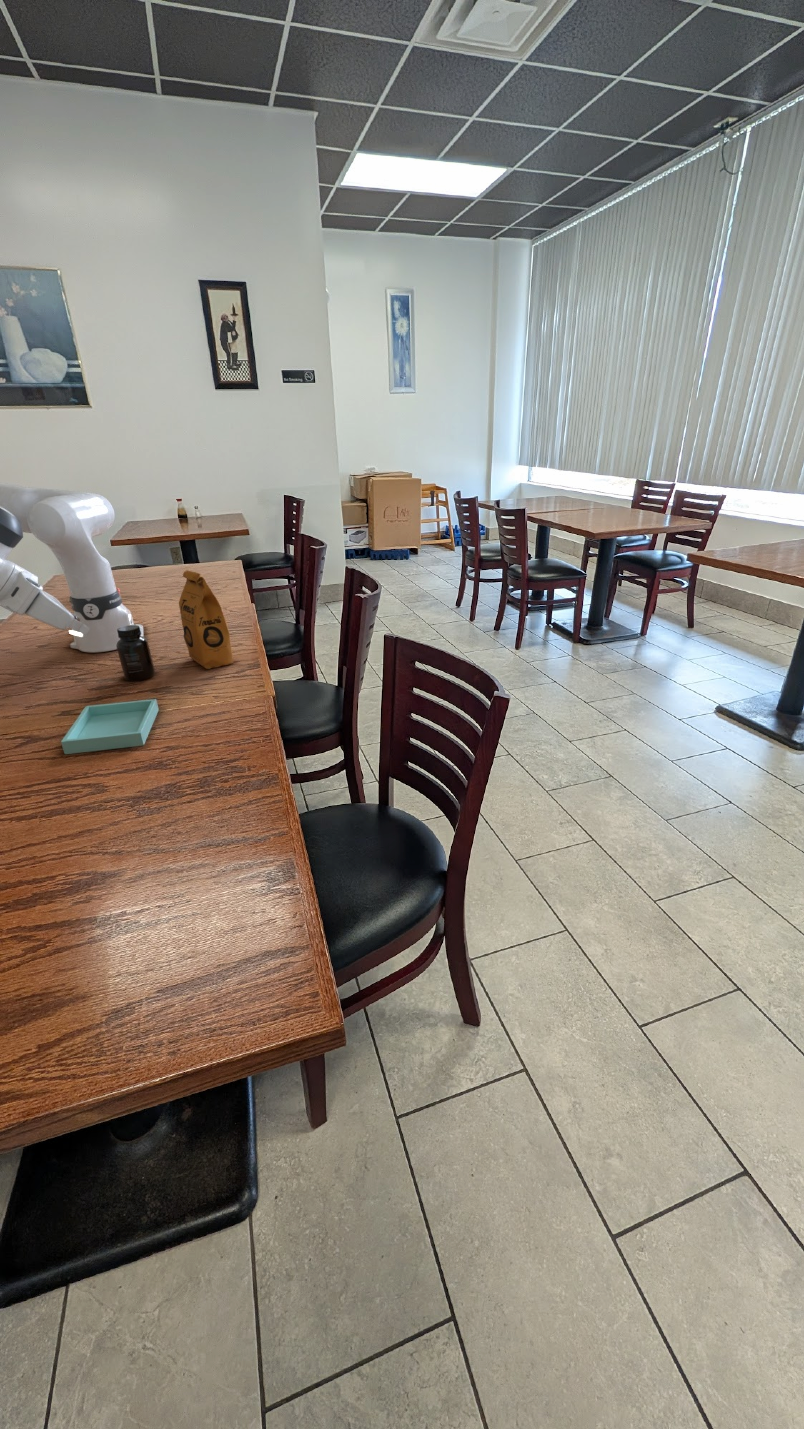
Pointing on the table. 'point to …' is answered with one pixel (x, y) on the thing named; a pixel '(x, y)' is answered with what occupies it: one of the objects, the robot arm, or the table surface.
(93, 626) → the robot arm
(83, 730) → the serving tray
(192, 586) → the coffee package
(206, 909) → the table surface
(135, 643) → the supplement bottle
